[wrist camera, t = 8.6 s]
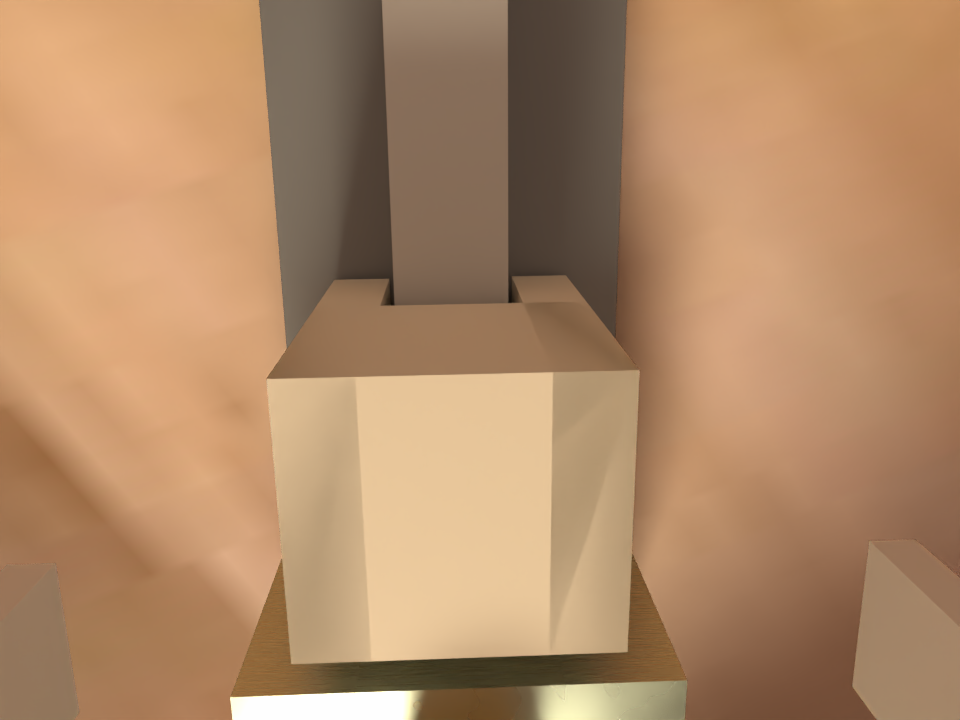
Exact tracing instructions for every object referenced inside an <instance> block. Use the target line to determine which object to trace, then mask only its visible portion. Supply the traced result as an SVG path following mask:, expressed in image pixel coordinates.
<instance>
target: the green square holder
mask: <svg viewBox="0 0 960 720" xmlns="http://www.w3.org/2000/svg"><path fill="white" fill-rule="evenodd" d="M686 693H687V678H686V676H685V674H684V671H683V669H682V667H681V665H680V662H679V660H678V658H677V655H676V653H675V651H674V648H673V646H672V644H671V641H670V639H669V637H668V634H667V632H666V630H665V628H664V625H663V623H662V621H661V618H660V616H659V614H658V611H657V609H656V607H655V604H654V602H653V600H652V598H651V595H650V593H649V591H648V588H647V586H646V584H645V581H644V579H643V577H642V574H641V572H640V570H639V568H638V565H637V563H636V561H635V558H634V556H633V554H632V562H631V585H630V608H629V631H628V652H618V653H591V654H563V655H535V656H507V657H479V658H451V659H424V660H396V661H368V662H340V663H312V664H291V655H290V644H289V633H288V621H287V610H286V598H285V587H284V575H283V564H282V559H281V562H280V565H279V567H278V570H277V573H276V575H275V578H274V581H273V583H272V586H271V589H270V592H269V594H268V597H267V600H266V602H265V605H264V608H263V610H262V613H261V616H260V619H259V621H258V624H257V627H256V629H255V632H254V635H253V637H252V640H251V643H250V646H249V648H248V651H247V654H246V656H245V659H244V662H243V664H242V667H241V670H240V672H239V675H238V678H237V681H236V683H235V686H234V689H233V691H232V694H231V697H230V700H231V708H232V717H233V720H685V708H686Z"/></svg>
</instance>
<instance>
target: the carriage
mask: <svg viewBox="0 0 960 720" xmlns="http://www.w3.org/2000/svg"><path fill="white" fill-rule="evenodd" d="M639 377H640V370H639V369H638V367H637V366H636V365H635V363H634V362H633V361H632V360H631V358H630V357H629V356H628V354H627V353H626V352H625V351H624V349H623V348H622V347H621V345H620V344H619V343H618V342H617V340H616V339H615V338H614V337H613V335H612V334H611V333H610V331H609V330H608V329H607V328H606V326H605V325H604V324H603V322H602V321H601V320H600V319H599V317H598V316H597V315H596V313H595V312H594V311H593V310H592V308H591V307H590V306H589V304H588V303H587V302H586V301H585V299H584V298H583V297H582V295H581V294H580V293H579V292H578V290H577V289H576V288H575V286H574V285H573V284H572V283H571V281H570V280H569V279H568V277H567V276H566V275H552V276H512V303H492V304H443V305H395V306H390V283H389V279H346V280H334V281H333V283H332V284H331V286H330V287H329V288H328V290H327V291H326V293H325V294H324V296H323V297H322V299H321V300H320V302H319V303H318V304H317V306H316V307H315V309H314V310H313V312H312V313H311V315H310V316H309V318H308V319H307V320H306V322H305V323H304V325H303V326H302V328H301V329H300V331H299V332H298V334H297V335H296V337H295V338H294V339H293V341H292V342H291V344H290V345H289V347H288V348H287V350H286V351H285V353H284V354H283V355H282V357H281V358H280V360H279V361H278V363H277V364H276V366H275V367H274V369H273V370H272V371H271V373H270V374H269V376H268V377H267V379H266V382H267V393H268V404H269V416H270V427H271V439H272V450H273V461H274V473H275V484H276V496H277V507H278V518H279V530H280V541H281V553H282V564H283V575H284V587H285V598H286V610H287V621H288V633H289V644H290V655H291V664H312V663H340V662H368V661H396V660H424V659H451V658H479V657H507V656H535V655H563V654H591V653H618V652H628V631H629V608H630V585H631V562H632V538H633V515H634V492H635V469H636V446H637V423H638V400H639Z"/></svg>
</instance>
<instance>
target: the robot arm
mask: <svg viewBox="0 0 960 720" xmlns="http://www.w3.org/2000/svg"><path fill="white" fill-rule="evenodd" d="M852 687H853V688H854V690H855V691H856V692H857V694H858V695H859V697H860V698H861V699H862V701H863V702H864V703H865V705H866V706H867V707H868V709H869V710H870V712H871V713H872V714H873V716H874V717H875V718H876V720H960V577H959V576H957V575H956V574H955V573H954V572H953V571H952V570H950V569H949V568H948V567H947V566H946V565H945V564H943V563H942V562H941V561H940V560H939V559H938V558H936V557H935V556H934V555H933V554H932V553H931V552H929V551H928V550H927V549H926V548H925V547H924V546H923V545H921V544H920V543H919V542H918V541H917V540H916V539H911V540H875V541H869V548H868V556H867V565H866V573H865V582H864V590H863V599H862V607H861V616H860V624H859V633H858V641H857V650H856V658H855V667H854V675H853V684H852ZM78 713H79V706H78V700H77V694H76V687H75V681H74V675H73V668H72V662H71V656H70V649H69V643H68V637H67V631H66V624H65V618H64V612H63V605H62V599H61V593H60V587H59V580H58V574H57V568H56V563H45V564H9V565H6V566H5V567H4V568H3V569H2V570H1V571H0V720H75V718H76V716H77V715H78Z"/></svg>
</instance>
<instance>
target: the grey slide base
mask: <svg viewBox="0 0 960 720" xmlns="http://www.w3.org/2000/svg"><path fill="white" fill-rule="evenodd" d="M259 5H260V18H261V30H262V43H263V55H264V68H265V80H266V93H267V106H268V118H269V131H270V143H271V156H272V168H273V181H274V194H275V206H276V219H277V231H278V244H279V256H280V269H281V281H282V294H283V307H284V319H285V332H286V344H287V348H288V347H289V345H290V344H291V342H292V341H293V339H294V338H295V337H296V335H297V334H298V332H299V331H300V329H301V328H302V326H303V325H304V323H305V322H306V320H307V319H308V318H309V316H310V315H311V313H312V312H313V310H314V309H315V307H316V306H317V304H318V303H319V302H320V300H321V299H322V297H323V296H324V294H325V293H326V291H327V290H328V288H329V287H330V286H331V284H332V283H333V281H334V280H346V279H389V283H390V306H395V305H443V304H492V303H512V276H552V275H566V276H567V277H568V279H569V280H570V281H571V283H572V284H573V285H574V286H575V288H576V289H577V290H578V292H579V293H580V294H581V295H582V297H583V298H584V299H585V301H586V302H587V303H588V304H589V306H590V307H591V308H592V310H593V311H594V312H595V313H596V315H597V316H598V317H599V319H600V320H601V321H602V322H603V324H604V325H605V326H606V328H607V329H608V330H609V331H610V333H611V334H612V335H613V337H614V338H615V332H616V303H617V273H618V244H619V215H620V186H621V157H622V128H623V98H624V69H625V40H626V11H627V0H259Z"/></svg>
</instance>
